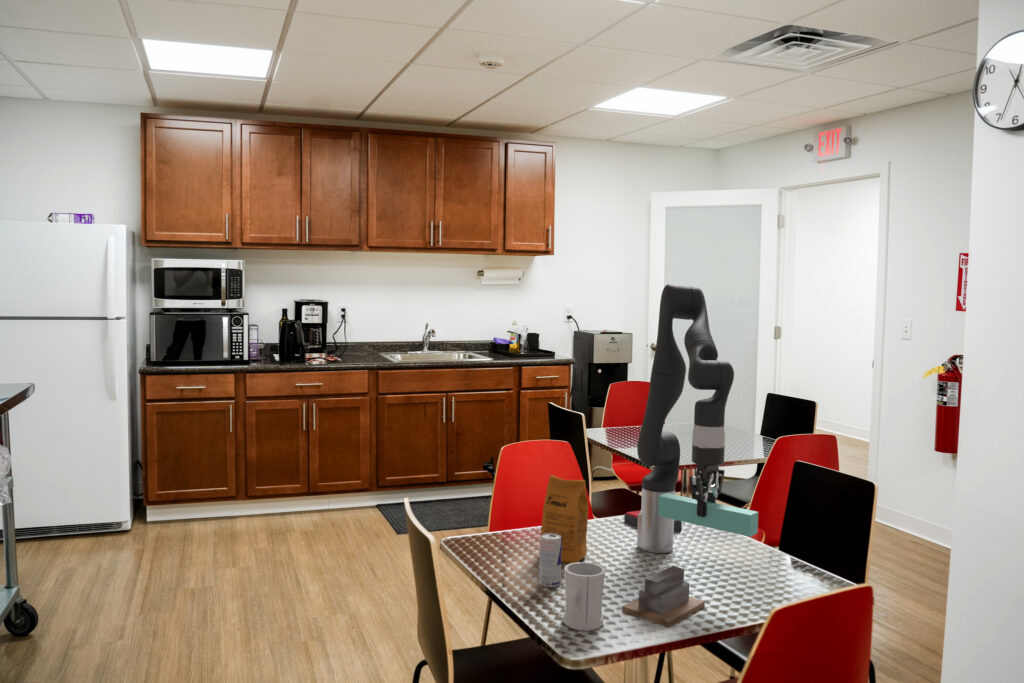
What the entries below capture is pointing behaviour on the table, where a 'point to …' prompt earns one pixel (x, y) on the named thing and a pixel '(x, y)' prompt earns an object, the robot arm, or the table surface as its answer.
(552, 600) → the table surface
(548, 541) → the energy drink
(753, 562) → the table surface
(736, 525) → the teal bar
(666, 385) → the robot arm
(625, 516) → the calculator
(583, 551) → the coffee package
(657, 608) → the ridge block
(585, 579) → the cup
